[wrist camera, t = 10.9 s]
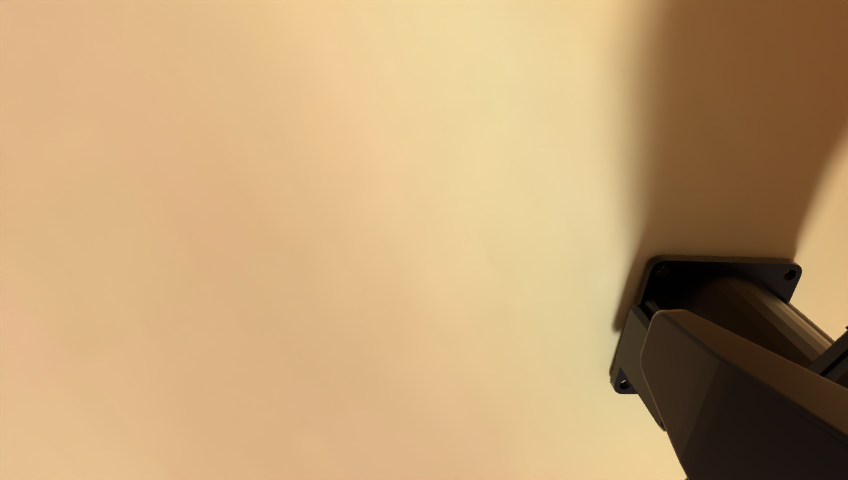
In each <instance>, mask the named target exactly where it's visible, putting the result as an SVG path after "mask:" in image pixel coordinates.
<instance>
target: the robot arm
mask: <svg viewBox="0 0 848 480" xmlns="http://www.w3.org/2000/svg"><path fill="white" fill-rule="evenodd" d="M662 266H664V267H663V269H662V270H661V271H659V272H656V271H657V270H658V268H660V267H662ZM787 271H788V273H786V272H787ZM785 273H786V274H785ZM801 274H802V269H801V267H800V266H799V265H798V264H797V263H795V262H794V261H793V260H790V259H767V258H735V257H703V256H671V255H659V256H655V257H653V258H651V259H650V260H649V261H648V263H647V265H646V267H645V270H644V273H643V276H642V279H641V283H640V286H639V289H638V292H637V295H636V299H635V302H634V305H633V307H632V308H631V310H630V312H629V315H628V318H627V321H626V324H625V328H624V331H623V334H622V337H621V340H620V344H619V347H618V350H617V353H616V357H615V359H616V362H615V365H614V369H613V372H612V375H611V378H610V383H611V385H612V387H613V388H614V390H615V392H617V393H619V394H638V395H639V396H640V398H641V399H642V401H643V403H644V404H645V406H646V407H647V409H648V410H649V412H650V413H651V415H652V416H653V418H654V420H655V421H656V423H657V424H658V426H659V427H660V428H661V429H662V430H663V431H666V432H667V434H668V436H669V439H670V441H671V444H672V446H673V448H674V451H675V453H676V455H677V457H678V460H679V462H680V464H681V466H682V468H683V470H684V472H685V474H686V476H687V478H686V479H685V480H848V326H847V327H846V329H847V331H846V332H845V333H844V334H843V335H842V336H841V337H840V338H838V339H837V340H836V341H834V340H833V339H832V338H831V337H829V336H828V335H827V334H826V333H825V332H823V331H822V330H821V329H820V328H819V327H818V326H816V325H815V324H814V323H813V322H812V321H811V320H809V319H808V318H807V317H806V316H805V315H804V314H802V313H801V312H800V311H799V310H798V309H796V308H795V307H794V306H793V305H792V304H791V303H789V301H790V299H791V297H792V295H793V292H794V290H795V288H796V286H797V284H798V281H799V279H800V277H801ZM625 380H626V381H625ZM623 381H625V382H623ZM621 382H623V383H621Z"/></svg>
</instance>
